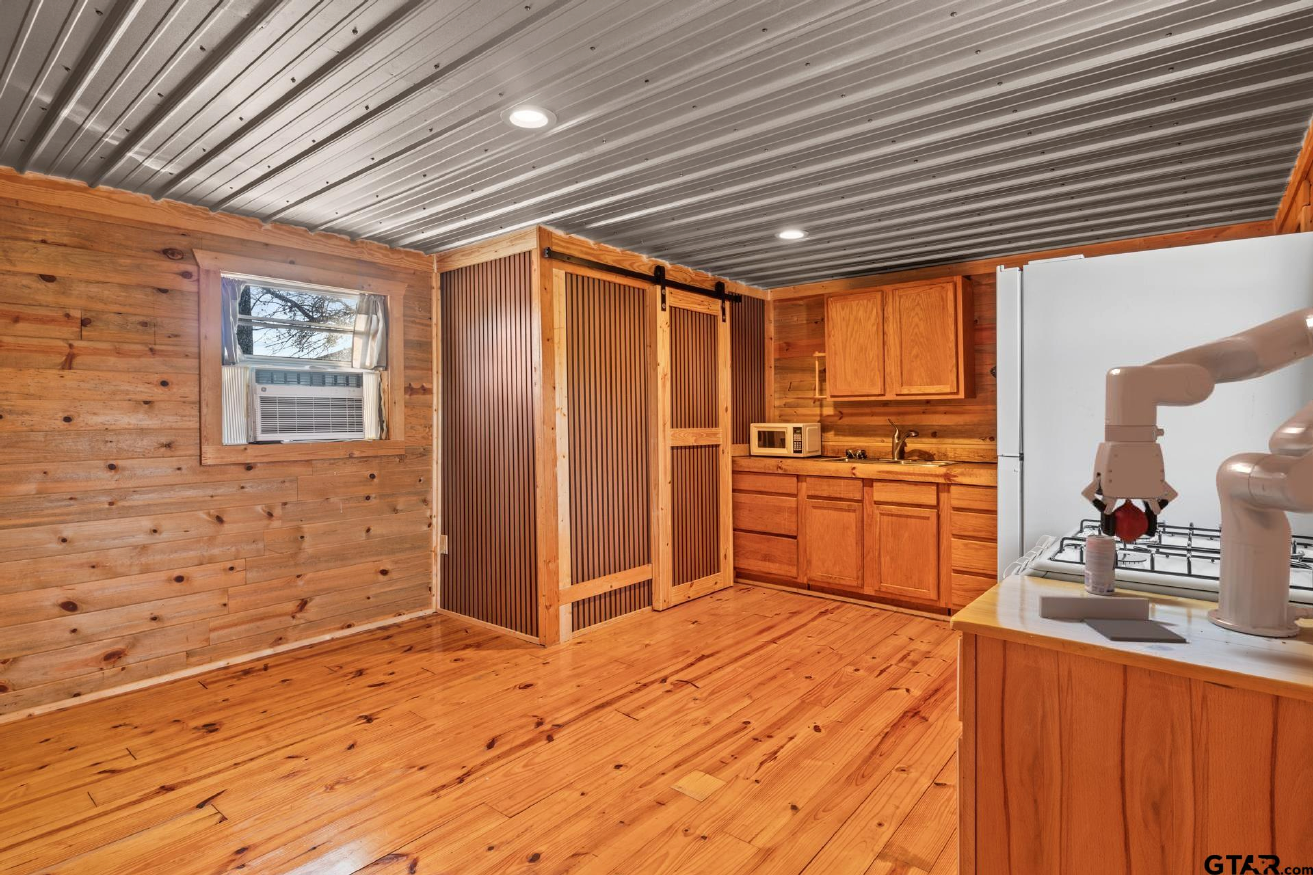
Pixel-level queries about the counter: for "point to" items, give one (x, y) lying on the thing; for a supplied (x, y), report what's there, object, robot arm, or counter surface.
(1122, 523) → the onion
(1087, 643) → the counter surface
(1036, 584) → the counter surface
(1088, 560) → the energy drink
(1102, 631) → the rubber mat
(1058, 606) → the low wall
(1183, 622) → the counter surface
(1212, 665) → the counter surface
